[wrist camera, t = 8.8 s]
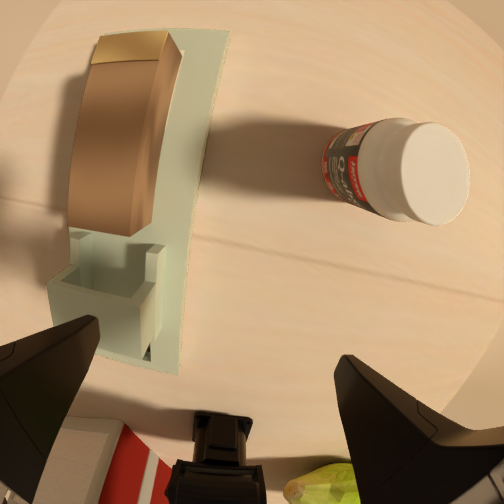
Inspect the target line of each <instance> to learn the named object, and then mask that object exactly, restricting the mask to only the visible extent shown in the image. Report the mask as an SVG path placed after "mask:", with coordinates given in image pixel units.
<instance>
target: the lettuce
mask: <svg viewBox="0 0 504 504" xmlns="http://www.w3.org/2000/svg"><path fill="white" fill-rule="evenodd" d="M283 495H284V497H285V499H286V500H287V501H288V502H289V503H290V504H361V503H360V498H359V493H358V488H357V484H356V479H355V475H354V470H353V466H352V464H349V463H334V464H329V465H326V466H323V467H321V468H318V469H316V470H315V471H313V472H311V473H308V474H306V475H303V476H301V477H298V478H295V479H293V480H291V481H289V482H288V483H287V484H286V486H285V488H284V492H283Z"/></svg>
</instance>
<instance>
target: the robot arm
mask: <svg viewBox="0 0 504 504" xmlns="http://www.w3.org/2000/svg"><path fill="white" fill-rule="evenodd" d="M99 341H100V328H99V320H98V318H97V317H96V316H93V315H89V314H87V315H84V316H82V317H79V318H76V319H73V320H71V321H68V322H65V323H63V324H60V325H57V326H55V327H52V328H49V329H46V330H44V331H41V332H38V333H36V334H33V335H30V336H27V337H25V338H22V339H19V340H17V341H16V342H15V341H14V342H11V343H8V344H6V345H3V346H0V504H8V503H7V501H6V498H5V495H6V493H7V491H8V490H10V491H11V492H12V493H14V494H15V495H17V496H18V497H20V498H21V499H23V500H24V501H26V502H27V503H29V504H32V503H33V501H34V497H35V494H36V491H37V488H38V485H39V482H40V479H41V476H42V473H43V471H44V468H45V465H46V463H47V460H48V457H49V454H50V452H51V449H52V447H53V444H54V442H55V440H56V437H57V435H58V433H59V430H60V428H61V426H62V423H63V421H64V419H65V417H66V415H67V413H68V410H69V408H70V406H71V404H72V402H73V400H74V398H75V396H76V394H77V392H78V390H79V388H80V386H81V384H82V382H83V380H84V378H85V376H86V374H87V372H88V369H89V367H90V364H91V361H92V359H93V356H94V354H95V351H96V349H97V346H98V344H99ZM334 381H335V388H336V395H337V402H338V408H339V413H340V417H341V421H342V424H343V428H344V432H345V436H346V440H347V445H348V449H349V453H350V457H351V461H352V466H353V470H354V475H355V479H356V484H357V488H358V493H359V498H360V503H361V504H504V426H502V427H497V428H491V429H484V430H471V429H467V428H465V427H463V426H461V425H459V424H457V423H456V422H454V421H452V420H450V419H448V418H446V417H444V416H443V415H441V414H439V413H437V412H436V411H434V410H432V409H431V408H429V407H428V406H426V405H425V404H423V403H422V402H420V401H419V400H416V398H414V397H413V396H411V395H410V394H408V393H407V392H405V391H404V390H402V389H401V388H399V387H398V386H397V385H395V384H394V383H392V382H391V381H389V380H388V379H386V378H385V377H383V376H382V375H381V374H379V373H378V372H376V371H375V370H373V369H372V368H371V367H369V366H368V365H366V364H365V363H364V362H362V361H361V360H359V359H358V358H356V357H355V356H354V355H342V356H341V358H340V360H339V362H338V364H337V366H336V369H335V371H334ZM252 424H253V420H252V419H251V418H242V417H232V416H223V415H215V414H208V413H201V412H196V413H195V414H194V424H193V438H192V441H193V442H195V445H194V453H193V462H189V461H183V460H180V459H177V462H176V465H173V467H172V473H171V477H170V480H169V482H168V484H167V487H166V489H165V491H164V495H165V496H166V497H167V498H168V501H169V504H267V499H266V489H265V483H264V477H263V471H262V465H256V466H246V441H247V438H248V435H249V433H250V430H251V427H252Z"/></svg>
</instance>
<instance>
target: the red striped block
mask: <svg viewBox="0 0 504 504" xmlns="http://www.w3.org/2000/svg"><path fill="white" fill-rule="evenodd" d="M171 473H172V469H171V468H170V467H169V466H168V465H166V464H165V463H164V462H163V461H162V460H161V459H160V458H159V456H158V455H157V454H156V453H154V452H153V451H152V450H151V449H149V448H148V447H147V446H146V445H145V444H144V443H143V442H142V441H141V440H140V439H139V438H138V437H137V436H136V435H135V434H134V433H133V431H132V430H131V429H130V428H129V427H128V426H127V425H126V424H124V422H123V421H121V420H119V419H100V418H83V417H71V416H66V417H65V419H64V421H63V423H62V426H61V428H60V430H59V433H58V435H57V437H56V440H55V442H54V444H53V447H52V449H51V452H50V454H49V457H48V460H47V463H46V465H45V468H44V471H43V473H42V476H41V479H40V482H39V485H38V488H37V491H36V494H35V497H34V501H33V503H32V504H169V501H168V498H167V497H166V496H165V495H164V491H165V489H166V487H167V484H168V482H169V480H170V477H171ZM7 503H8V504H29V503H27V502H26V501H24V500H23V499H21V498H20V497H18V496H17V495H15V494H14V493H12V492H11V493H10V496H9V498H8V501H7Z"/></svg>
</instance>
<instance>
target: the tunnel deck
mask: <svg viewBox="0 0 504 504" xmlns="http://www.w3.org/2000/svg"><path fill="white" fill-rule="evenodd" d="M162 30H168V31H169V33H170V35H171V37H172V38H173V40H174V42H175V44H176V46H177V47H178V49H179V51H180V53H181V55H182V59H181V63H180V67H179V70H178V74H177V78H176V82H175V86H174V90H173V94H172V98H171V103H170V107H169V112H168V116H167V121H166V126H165V131H164V136H163V142H162V148H161V153H160V160H159V166H158V173H157V180H156V187H155V195H154V203H153V212H152V222H151V223H150V224H149V225H147V226H146V227H144V228H143V229H141V230H140V231H138V232H137V233H135V234H134V235H132V236H131V237H126V236H120V235H114V234H108V233H102V232H97V231H91V230H85V229H79V228H74V227H69V251H70V266H68V267H67V268H65V269H64V270H63V271H61V272H60V273H58V274H57V275H55V276H54V277H53V278H51V279H50V280H48V281H47V282H46V283H47V291H48V298H49V304H50V310H51V315H52V320H53V325H54V327H55V326H57V325H60V324H63V323H65V322H68V321H71V320H73V319H76V318H79V317H82V316H84V315H87V314H89V315H93V316H96V317H97V318H98V320H99V328H100V341H99V344H98V346H97V349H96V351H95V354H96V355H99V356H102V357H105V358H109V359H112V360H116V361H119V362H123V363H126V364H130V365H134V366H138V367H142V368H146V369H150V370H155V371H159V372H164V373H168V374H173V375H178V372H179V369H180V364H181V345H182V330H183V316H184V304H185V293H186V282H187V272H188V263H189V254H190V246H191V238H192V230H193V223H194V216H195V209H196V202H197V195H198V189H199V183H200V177H201V171H202V165H203V159H204V154H205V148H206V143H207V138H208V132H209V127H210V122H211V118H212V113H213V108H214V103H215V99H216V94H217V90H218V86H219V81H220V77H221V73H222V69H223V65H224V61H225V57H226V53H227V49H228V46H229V42H230V33H229V31H223V30H210V29H190V28H162V29H142V30H130V31H121V32H113V33H106V34H104V36H105V35H112V34H120V33H129V32H141V31H162Z"/></svg>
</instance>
